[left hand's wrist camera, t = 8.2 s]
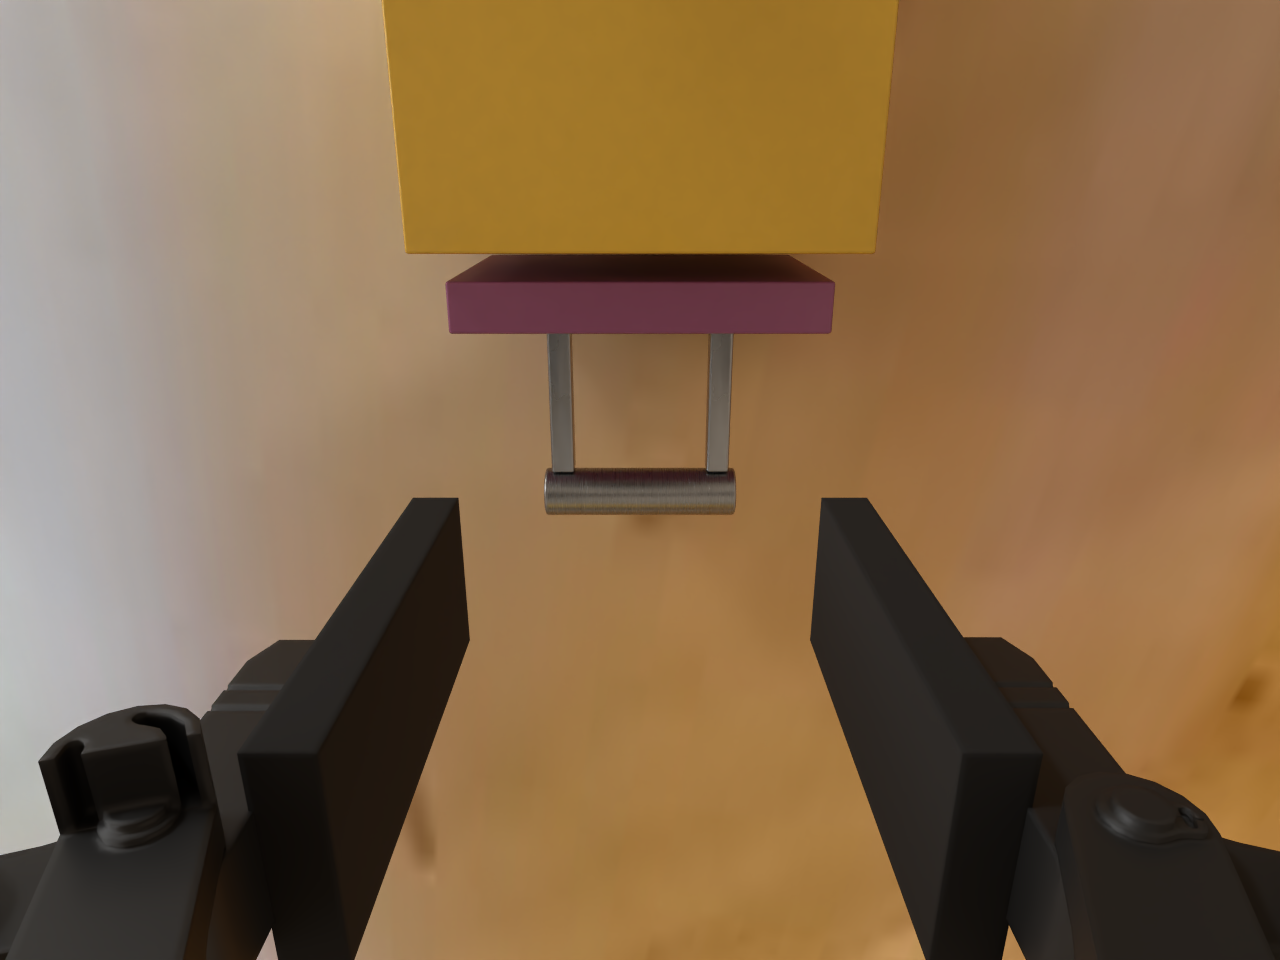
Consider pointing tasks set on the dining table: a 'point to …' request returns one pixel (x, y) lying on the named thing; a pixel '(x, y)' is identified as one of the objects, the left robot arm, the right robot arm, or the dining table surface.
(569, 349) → the drawer
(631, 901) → the dining table surface
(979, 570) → the dining table surface
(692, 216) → the cabinet
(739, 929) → the dining table surface
